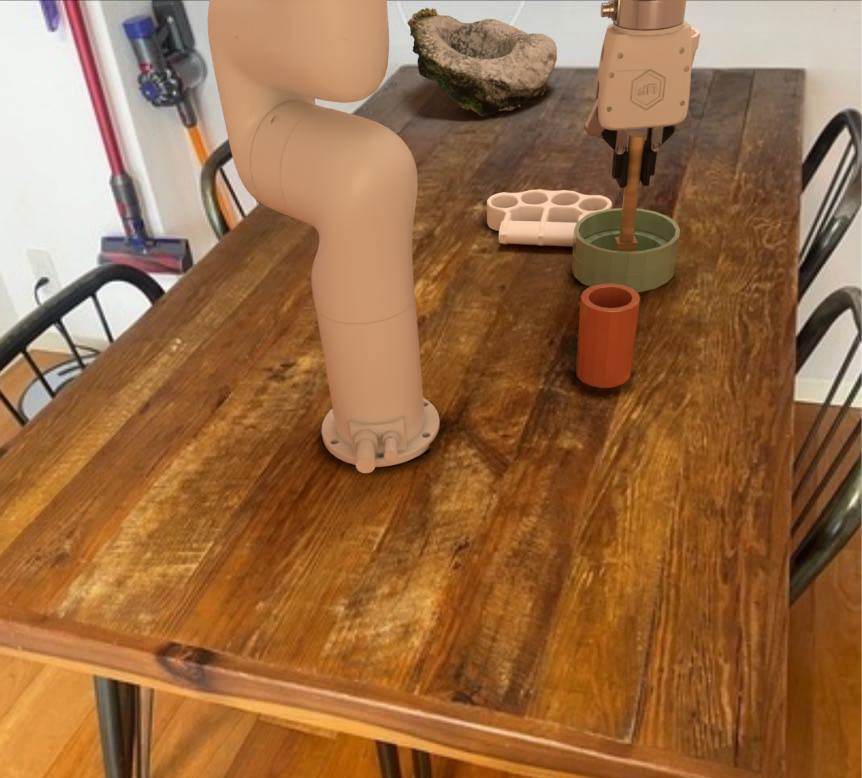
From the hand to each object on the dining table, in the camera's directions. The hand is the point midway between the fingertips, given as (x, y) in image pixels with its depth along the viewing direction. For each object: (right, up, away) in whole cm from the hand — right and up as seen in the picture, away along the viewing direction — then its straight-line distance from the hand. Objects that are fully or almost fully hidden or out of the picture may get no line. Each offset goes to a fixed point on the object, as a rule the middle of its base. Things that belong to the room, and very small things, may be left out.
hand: (632, 181), depth 105 cm
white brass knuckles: (-8, +1, +19) cm, 21 cm away
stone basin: (-14, +44, +64) cm, 79 cm away
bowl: (+1, -9, +8) cm, 12 cm away
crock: (-5, -26, -9) cm, 28 cm away
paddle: (+1, -8, +8) cm, 11 cm away
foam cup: (+17, +33, +51) cm, 63 cm away
